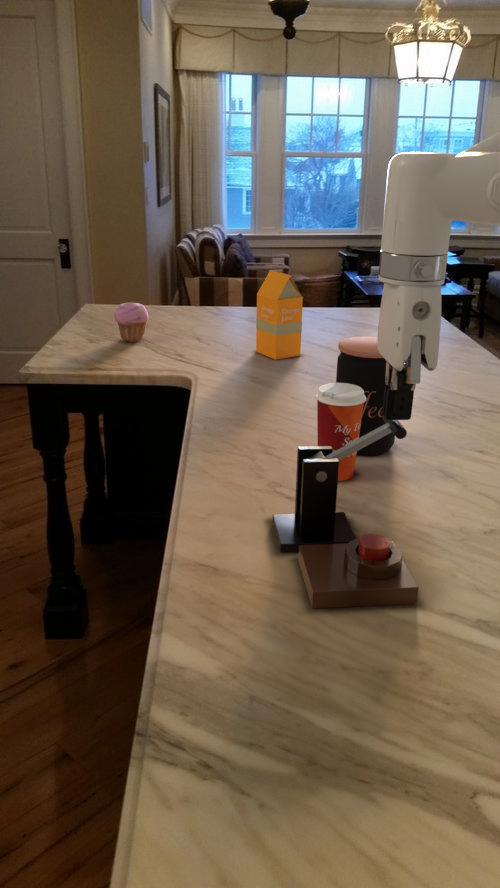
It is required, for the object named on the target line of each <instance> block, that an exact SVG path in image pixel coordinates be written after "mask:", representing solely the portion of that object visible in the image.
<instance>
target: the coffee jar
mask: <svg viewBox="0 0 500 888" xmlns="http://www.w3.org/2000/svg"><path fill="white" fill-rule="evenodd" d="M377 338H378V336H352V337H351V336H350V337H346V338H342V339H340V340H339V341H338V350H339V354H338V355H337V359H336V360H337V361H336V377H335V383H348V384H353V385H357V386H359V387H361V388H362V389H363V390H364V395H365V396H366V401H365V402H364V405H363V412H362V419H361V426H360V433H359V438H360V437H362V436H364V435H366V434H368V433H369V432H371V431H373V430H375V429H377V428H379V427H381V426H382V425H384V424H386V423H385V422H384V420H383V403H384V392H385V386H389V385H386V382H385V377H386V360H385V358H384V357H383V356H382V355H381V354H380V353H379V351H378V347H377ZM395 439H396V436H395V435H394V434H393V432H391V433H390V434H388V435H386V436H384V437H382V438H380V439H378V440H377V441H375V442H373V443H371V444H369V445H367V446H366V447H364V448H362V449H360V450H358V451H357V454H356V456H363V457H374V456H380V455H383V454H385V453H387V452H389V450H390V449H391V448H392V446H393V445H394V444H395Z"/></svg>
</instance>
